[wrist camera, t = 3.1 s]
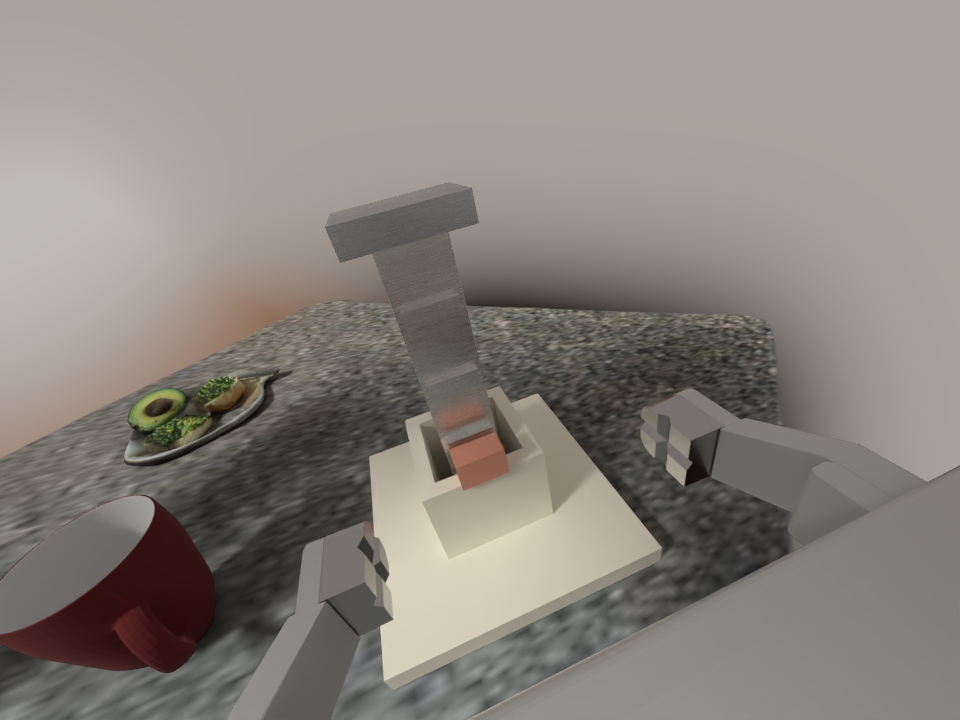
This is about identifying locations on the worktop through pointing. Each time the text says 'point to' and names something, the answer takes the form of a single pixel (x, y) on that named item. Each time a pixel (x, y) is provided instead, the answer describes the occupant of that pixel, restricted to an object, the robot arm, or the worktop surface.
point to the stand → (493, 534)
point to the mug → (110, 591)
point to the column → (426, 298)
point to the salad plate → (190, 415)
